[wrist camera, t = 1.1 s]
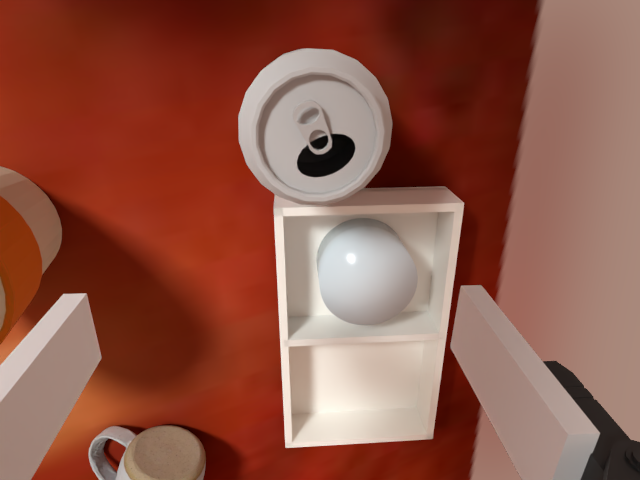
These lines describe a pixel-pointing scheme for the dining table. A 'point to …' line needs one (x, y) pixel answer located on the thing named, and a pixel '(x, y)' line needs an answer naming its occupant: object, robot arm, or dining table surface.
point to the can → (315, 126)
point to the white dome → (365, 272)
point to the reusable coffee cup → (23, 244)
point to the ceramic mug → (150, 454)
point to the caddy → (365, 340)
